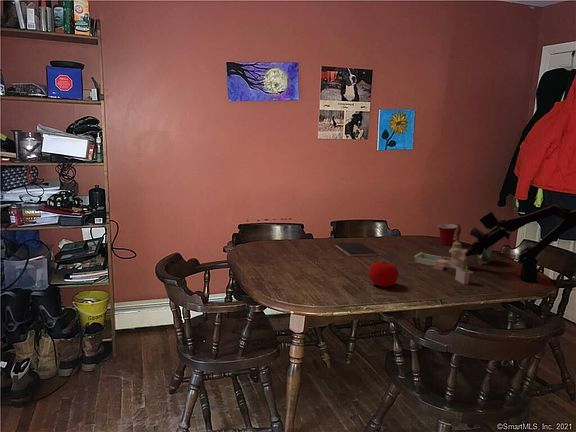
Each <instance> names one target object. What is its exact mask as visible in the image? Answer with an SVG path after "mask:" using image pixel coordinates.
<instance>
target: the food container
mask: <svg viewBox="0 0 576 432" xmlns="http://www.w3.org/2000/svg"><path fill="white" fill-rule="evenodd" d="M493 250H494V245H492V246H491V247H489V248H488V249H487V250H485V249H484V253H483V254H481V255H480V256H479V255H478V254H476V255H477V256H476V260H478V261H477V263H479V265H480V266H485V265H486V264H488V265H490V261H491V255H492V253H493ZM486 266H487V265H486Z"/></svg>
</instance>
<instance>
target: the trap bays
mask: <svg viewBox="0 0 576 432" xmlns="http://www.w3.org/2000/svg"><path fill="white" fill-rule="evenodd" d="M442 259H444V260H449V261H451V257H450V256H442ZM431 269H434V270H440V271H444V270H445V269H446V267H445V265H443V266H438V265H437V263H435V264H433V265H431Z"/></svg>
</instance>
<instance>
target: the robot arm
mask: <svg viewBox="0 0 576 432" xmlns="http://www.w3.org/2000/svg"><path fill="white" fill-rule="evenodd" d="M551 216H555V217H558V218H560V219H562V221H561V222H560V223H559V224H558V225H556V226H555V227H554V228H553V229H551V231H549V233H547V234H546V235H545V236H544V237H542V238H541V239H540V240H538V242H536V243H535V244H534V245H532V246H531V245H530V244H527V246H526V247H525V248H523V249H521V250H520V253H519V254H520V255H519V256H518V261H519V262H520V263H521V264H522V266H521V269H520V276H519V277H517V279H519V280H521V281H523V282H526V283H529V284H531V283H540V280H539V279H538V275H539V268H538V265H539V263H540V261H538V260H537V257H538V256H539V254H540V253H541V252H542V251H544V250H545V249H546V248H547V247H548V246H549V245H551V244H552V243H553V242H555V241H556V240H557V239H558V238H559V237H561V236H562V235H563V234H564V233H565V232H567V231H569V230H571V229H573V228H575V227H576V209H573V210H572V209H568V208H565V207H562V206H559V205H557V204H552V205H551V206H548V207H545V208H542V209H540V210H536V211H533V212H531V213H528V214H525V215H521V216H520V215H519V216H515V217H509V218H508V219H498V218H497V216H496V215H495V213H494V212H493V211H490V212H489V213H487V214H485V215H483V216H482V217H481V218H480V219H479V222H480V223H481V224H482V225H483V227H484V228H485V229H486V230H490V231H489V232H487V233H485V232H483V231H482V230H480V229H478V228H477V227H473V228H472V229H471V231H470V232H469V235H470V236H473V238H476V239H477V240H475V241H474V242H472V243H471V244H470V247H471V249H469V250H468V251H467V254H466V256H467V257H470V256H475V255H479V256H480V255H481V254H483V253H484V249H485V250H487V249H488V248H489V247H491V246H492V245H493V246H494V245H496V244H497V243H498V242H499V241H501V240H502V239H504V238H505V239H506V240H510V239H511V235H512V232H515V231H517V230H519V229H521V228H522V227H524V226H526V225H528V224H530V223H534V222H536V221H539V220H542V219H545V218H549V217H551Z"/></svg>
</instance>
